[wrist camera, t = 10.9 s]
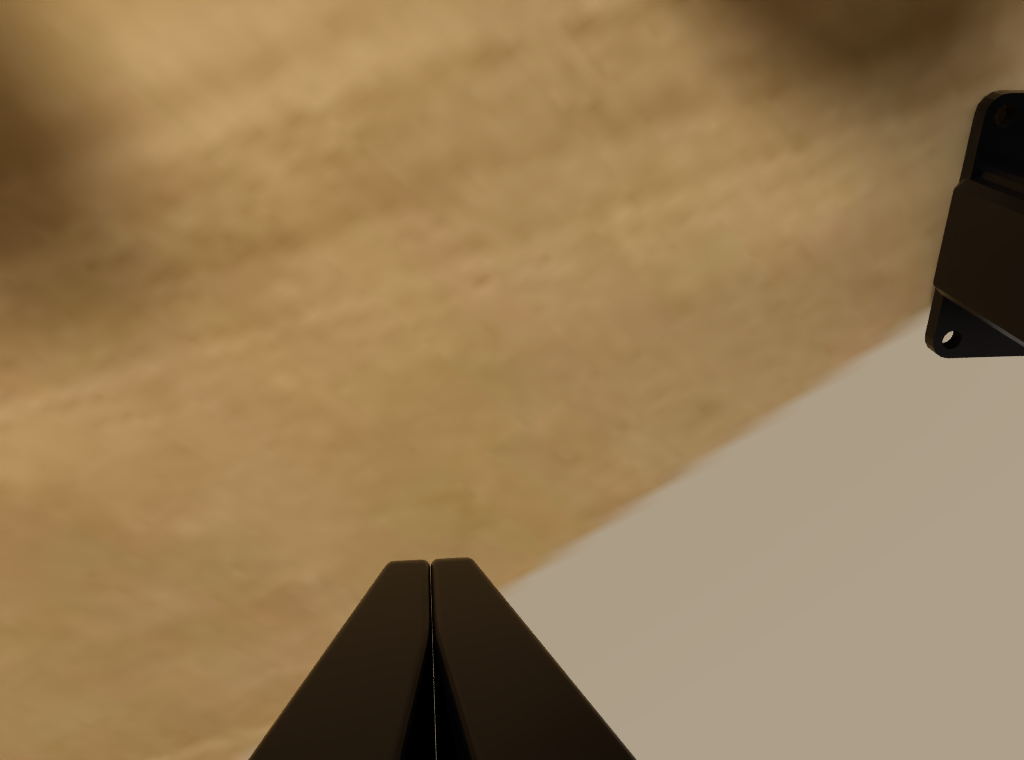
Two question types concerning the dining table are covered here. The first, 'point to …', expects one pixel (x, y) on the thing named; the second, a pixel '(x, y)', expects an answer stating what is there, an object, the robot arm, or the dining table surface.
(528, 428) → the dining table surface
